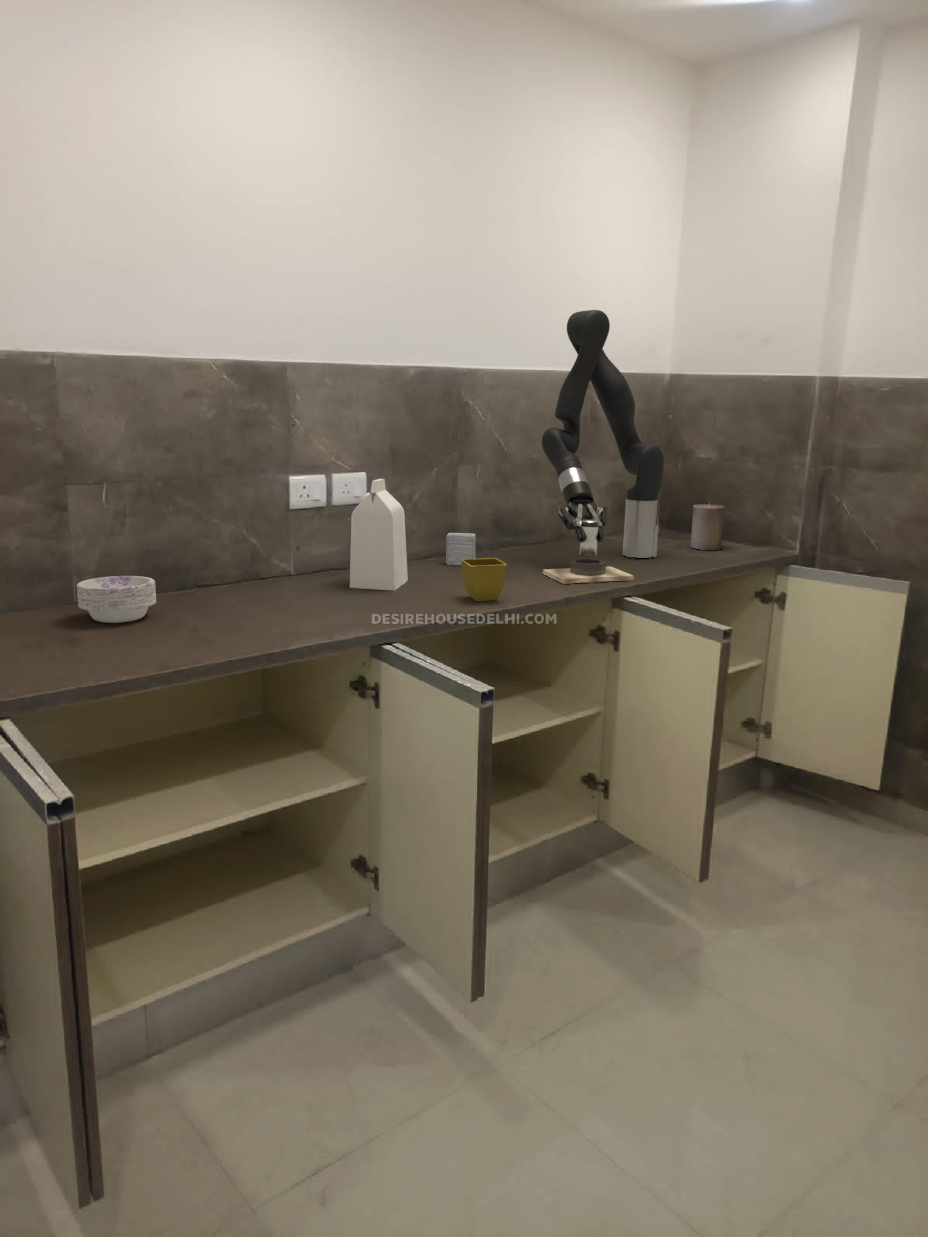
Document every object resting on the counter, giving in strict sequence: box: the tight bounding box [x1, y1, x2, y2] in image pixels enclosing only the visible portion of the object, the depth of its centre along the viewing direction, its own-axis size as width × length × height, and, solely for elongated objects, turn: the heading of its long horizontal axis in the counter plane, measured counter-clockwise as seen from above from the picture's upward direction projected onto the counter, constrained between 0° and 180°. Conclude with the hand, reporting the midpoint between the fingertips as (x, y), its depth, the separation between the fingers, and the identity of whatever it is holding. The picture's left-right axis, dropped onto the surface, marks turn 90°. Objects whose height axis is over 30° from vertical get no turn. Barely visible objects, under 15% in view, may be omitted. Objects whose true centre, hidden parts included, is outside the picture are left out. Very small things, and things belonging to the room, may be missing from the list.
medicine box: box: [445, 532, 477, 566], centre depth 248 cm, size 8×4×9 cm, turn 84°
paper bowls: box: [76, 575, 157, 624], centre depth 183 cm, size 15×15×8 cm
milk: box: [349, 478, 409, 591], centre depth 218 cm, size 12×12×26 cm
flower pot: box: [461, 557, 508, 602], centre depth 206 cm, size 9×9×9 cm
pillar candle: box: [690, 501, 725, 552], centre depth 281 cm, size 10×10×15 cm
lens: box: [579, 519, 599, 557], centre depth 230 cm, size 5×5×9 cm
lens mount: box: [542, 557, 634, 584], centre depth 233 cm, size 20×13×4 cm, turn 108°
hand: (592, 540), depth 229 cm, fingers closed on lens, 4 cm apart
